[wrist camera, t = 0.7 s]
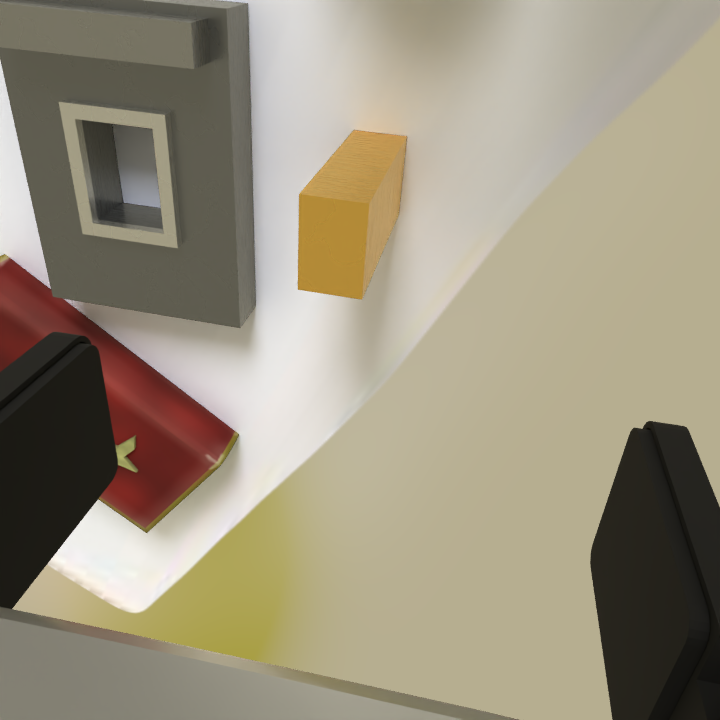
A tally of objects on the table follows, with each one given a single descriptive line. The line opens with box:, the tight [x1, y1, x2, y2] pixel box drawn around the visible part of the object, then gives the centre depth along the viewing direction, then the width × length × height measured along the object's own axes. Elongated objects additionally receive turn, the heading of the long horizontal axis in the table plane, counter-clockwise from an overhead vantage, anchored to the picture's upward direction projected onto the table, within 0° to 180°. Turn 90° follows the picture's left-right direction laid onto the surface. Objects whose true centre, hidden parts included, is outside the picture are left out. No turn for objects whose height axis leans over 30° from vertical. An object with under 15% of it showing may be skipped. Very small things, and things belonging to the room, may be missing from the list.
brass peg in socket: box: [298, 130, 407, 299], centre depth 33 cm, size 4×3×11 cm, turn 176°
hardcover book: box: [0, 254, 239, 533], centre depth 50 cm, size 12×21×4 cm, turn 49°
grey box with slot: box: [0, 0, 256, 328], centre depth 38 cm, size 18×13×5 cm
